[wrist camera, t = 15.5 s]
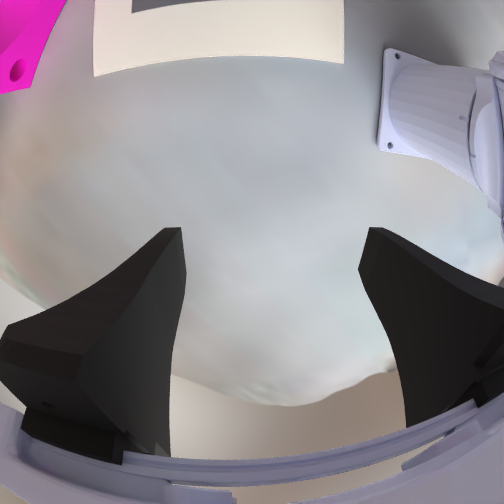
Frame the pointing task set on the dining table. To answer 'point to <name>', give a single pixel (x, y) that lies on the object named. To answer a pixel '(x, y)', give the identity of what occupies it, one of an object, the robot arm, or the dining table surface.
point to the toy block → (23, 39)
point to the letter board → (214, 30)
